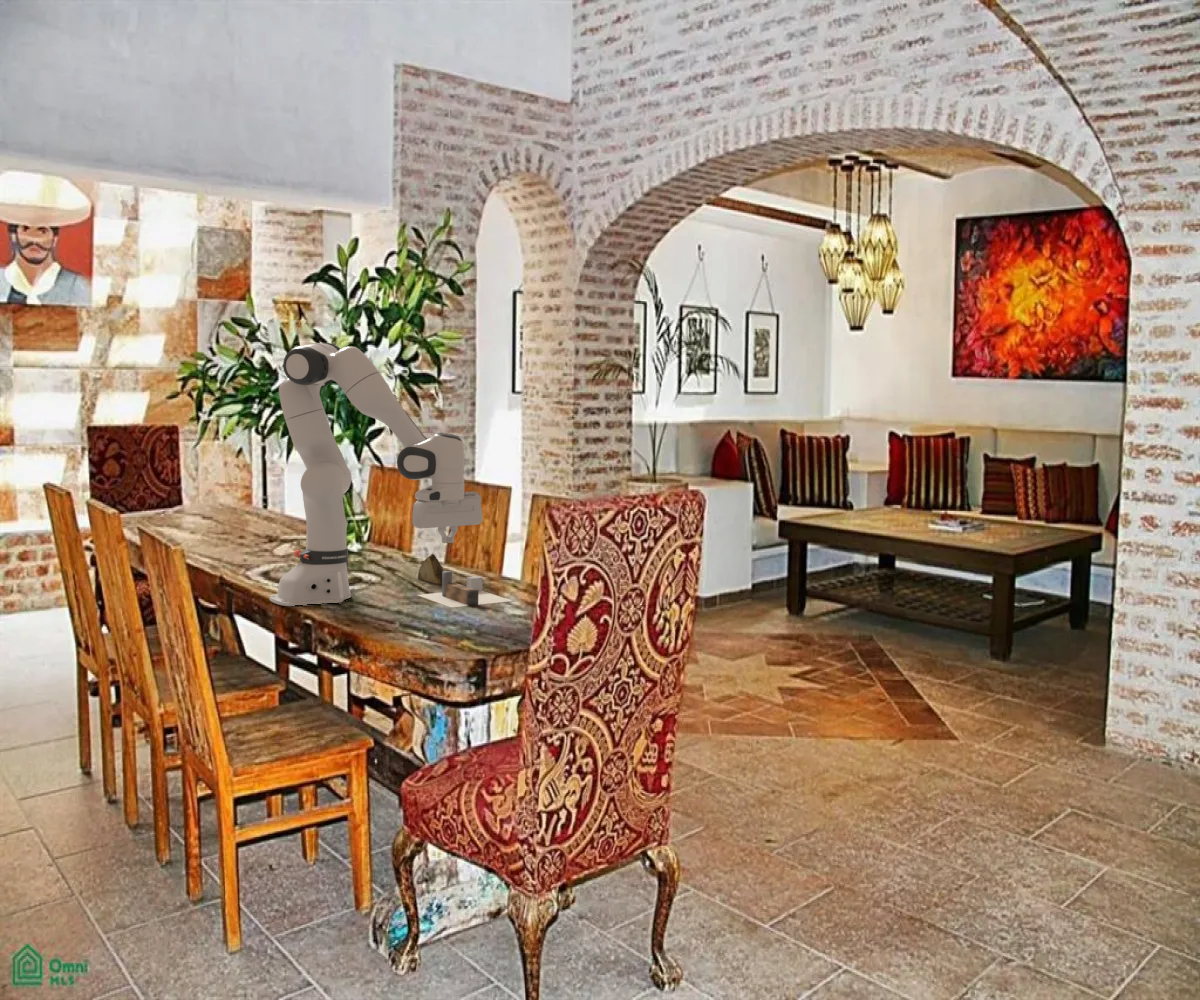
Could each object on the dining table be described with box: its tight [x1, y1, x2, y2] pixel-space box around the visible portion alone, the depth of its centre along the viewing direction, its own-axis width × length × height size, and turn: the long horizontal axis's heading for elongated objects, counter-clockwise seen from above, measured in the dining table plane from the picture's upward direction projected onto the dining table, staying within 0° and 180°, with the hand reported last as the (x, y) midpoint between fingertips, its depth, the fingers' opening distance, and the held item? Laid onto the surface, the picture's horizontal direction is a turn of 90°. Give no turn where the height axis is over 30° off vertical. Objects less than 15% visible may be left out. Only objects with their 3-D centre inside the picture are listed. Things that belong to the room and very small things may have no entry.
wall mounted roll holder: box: [417, 570, 513, 608], centre depth 321 cm, size 20×20×8 cm
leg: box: [446, 582, 479, 607], centre depth 316 cm, size 14×3×4 cm, turn 37°
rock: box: [417, 553, 445, 585], centre depth 347 cm, size 11×9×10 cm
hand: (447, 542), depth 308 cm, fingers closed
